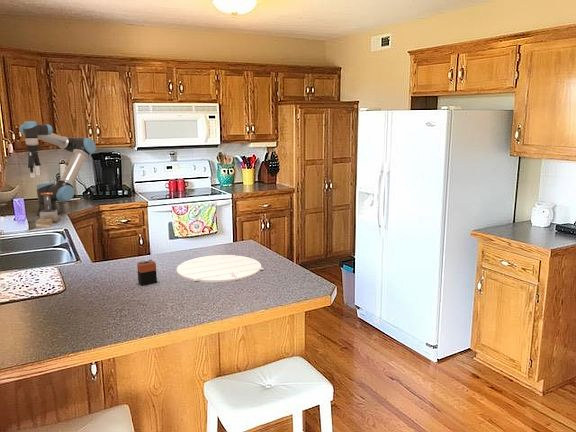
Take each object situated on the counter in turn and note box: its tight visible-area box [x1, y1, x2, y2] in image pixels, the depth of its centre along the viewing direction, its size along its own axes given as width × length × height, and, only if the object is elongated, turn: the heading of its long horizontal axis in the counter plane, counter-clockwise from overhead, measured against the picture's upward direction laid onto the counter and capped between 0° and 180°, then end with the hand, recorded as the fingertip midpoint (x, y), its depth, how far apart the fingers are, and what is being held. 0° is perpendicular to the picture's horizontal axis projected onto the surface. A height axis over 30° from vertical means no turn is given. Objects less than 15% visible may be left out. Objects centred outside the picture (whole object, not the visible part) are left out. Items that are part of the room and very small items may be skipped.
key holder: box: [35, 218, 53, 229], centre depth 311 cm, size 8×8×4 cm
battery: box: [136, 259, 158, 287], centre depth 201 cm, size 4×7×10 cm, turn 126°
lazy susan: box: [176, 254, 265, 283], centre depth 222 cm, size 40×39×3 cm
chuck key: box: [41, 192, 53, 212], centre depth 322 cm, size 4×8×16 cm, turn 104°
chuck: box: [39, 210, 62, 224], centre depth 324 cm, size 12×12×8 cm
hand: (35, 176), depth 321 cm, fingers open, 13 cm apart
